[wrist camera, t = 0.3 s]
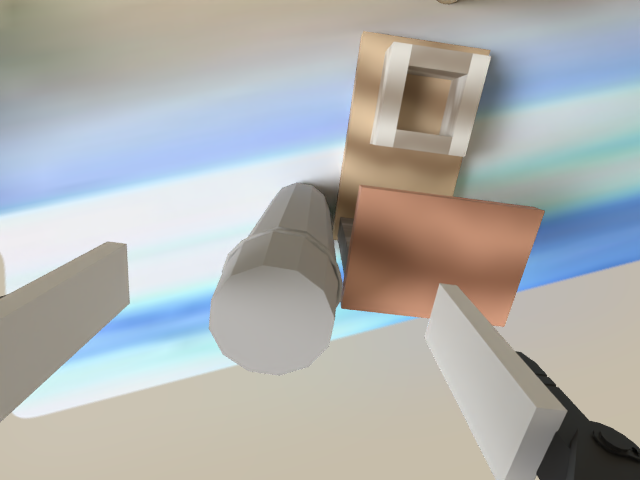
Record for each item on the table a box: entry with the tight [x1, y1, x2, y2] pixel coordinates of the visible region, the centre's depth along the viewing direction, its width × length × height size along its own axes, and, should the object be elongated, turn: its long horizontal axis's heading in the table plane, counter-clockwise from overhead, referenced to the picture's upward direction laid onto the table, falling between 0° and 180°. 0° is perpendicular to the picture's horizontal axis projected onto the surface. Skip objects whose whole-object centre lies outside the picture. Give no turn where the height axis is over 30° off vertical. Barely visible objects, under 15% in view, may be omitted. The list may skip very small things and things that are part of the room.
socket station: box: [332, 31, 545, 327], centre depth 30 cm, size 22×13×18 cm, turn 173°
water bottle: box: [209, 183, 343, 375], centre depth 29 cm, size 9×8×25 cm
